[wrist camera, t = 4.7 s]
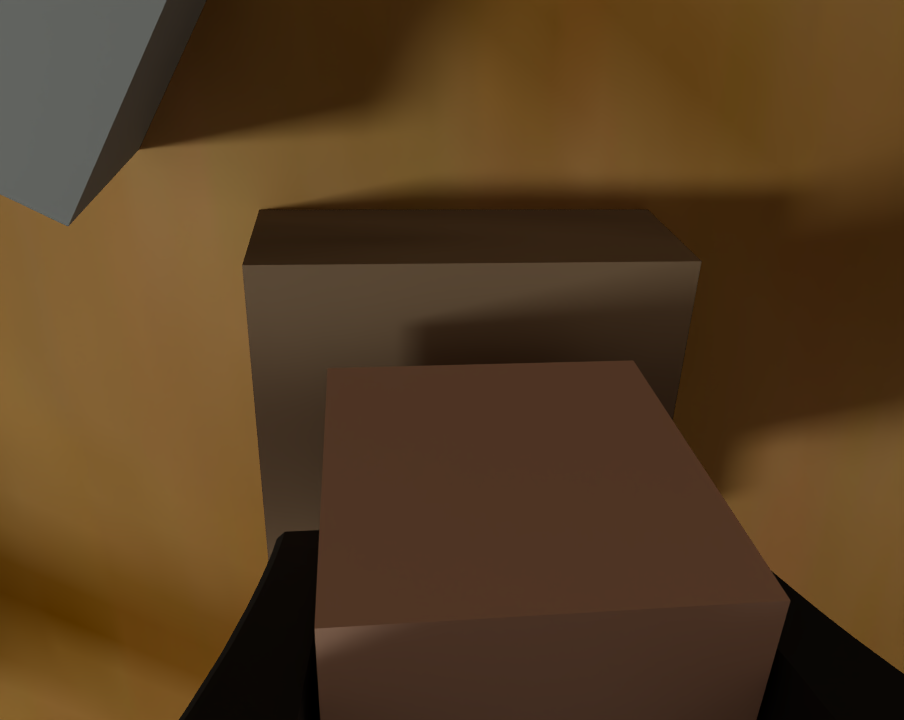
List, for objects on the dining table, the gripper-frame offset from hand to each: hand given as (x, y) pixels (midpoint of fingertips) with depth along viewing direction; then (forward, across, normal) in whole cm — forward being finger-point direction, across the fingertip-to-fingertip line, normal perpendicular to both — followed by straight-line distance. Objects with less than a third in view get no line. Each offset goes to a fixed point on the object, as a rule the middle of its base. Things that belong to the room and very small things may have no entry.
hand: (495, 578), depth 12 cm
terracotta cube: (+2, 0, 0) cm, 2 cm away
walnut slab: (+6, 0, 0) cm, 6 cm away
